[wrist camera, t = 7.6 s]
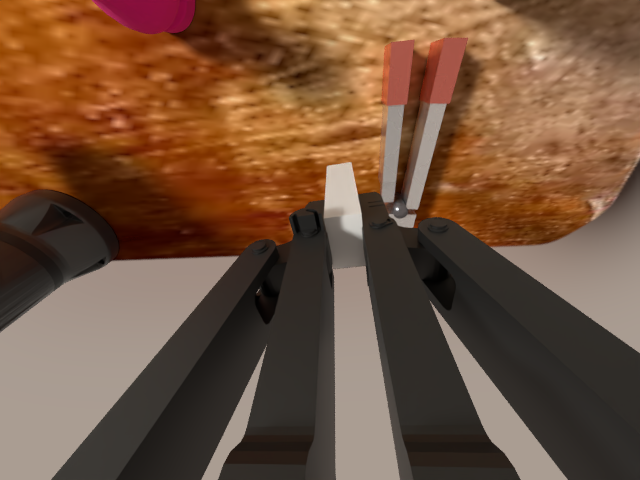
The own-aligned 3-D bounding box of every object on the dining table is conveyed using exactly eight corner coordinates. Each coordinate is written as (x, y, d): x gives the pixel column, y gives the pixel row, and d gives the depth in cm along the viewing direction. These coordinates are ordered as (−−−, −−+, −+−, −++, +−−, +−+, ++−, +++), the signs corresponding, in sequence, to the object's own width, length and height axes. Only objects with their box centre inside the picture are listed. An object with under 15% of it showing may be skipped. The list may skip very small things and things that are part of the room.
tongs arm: (390, 191, 33) (395, 203, 30) (376, 191, 33) (379, 203, 30) (404, 44, 24) (414, 39, 21) (384, 46, 24) (391, 42, 21)
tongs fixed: (408, 215, 35) (416, 231, 31) (374, 214, 35) (378, 230, 32) (451, 42, 24) (471, 36, 20) (400, 43, 24) (411, 37, 20)
